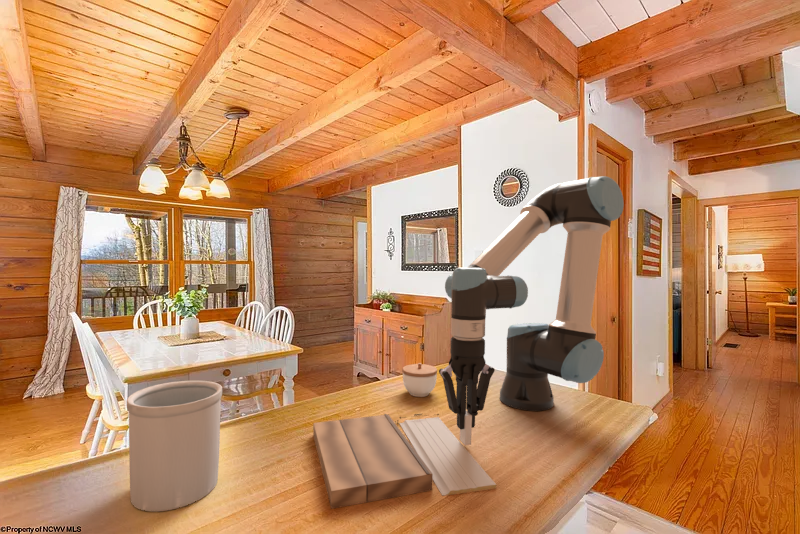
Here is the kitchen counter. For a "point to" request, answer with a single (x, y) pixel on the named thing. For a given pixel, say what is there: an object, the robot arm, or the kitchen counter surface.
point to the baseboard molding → (445, 457)
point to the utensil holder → (173, 443)
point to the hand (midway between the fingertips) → (465, 442)
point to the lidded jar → (419, 379)
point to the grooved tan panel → (368, 461)
